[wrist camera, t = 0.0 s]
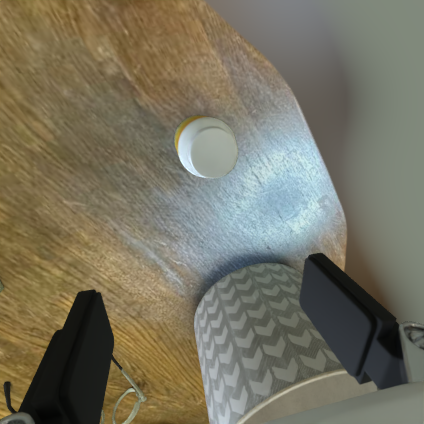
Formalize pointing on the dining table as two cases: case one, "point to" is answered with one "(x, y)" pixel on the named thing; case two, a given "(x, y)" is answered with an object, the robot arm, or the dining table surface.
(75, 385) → the robot arm
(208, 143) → the supplement bottle
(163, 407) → the dining table surface
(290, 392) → the planter
